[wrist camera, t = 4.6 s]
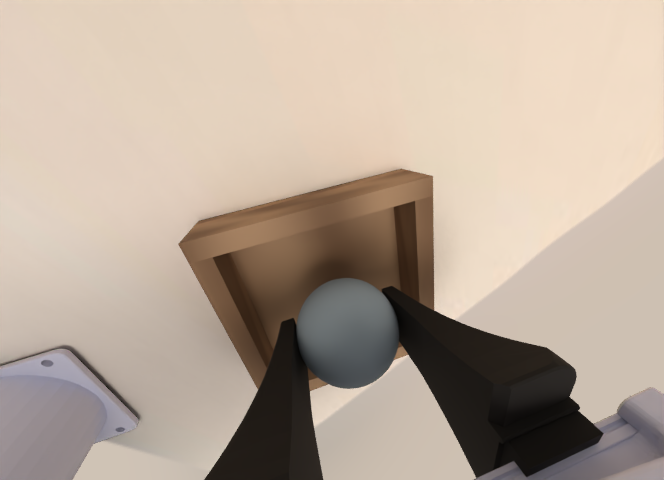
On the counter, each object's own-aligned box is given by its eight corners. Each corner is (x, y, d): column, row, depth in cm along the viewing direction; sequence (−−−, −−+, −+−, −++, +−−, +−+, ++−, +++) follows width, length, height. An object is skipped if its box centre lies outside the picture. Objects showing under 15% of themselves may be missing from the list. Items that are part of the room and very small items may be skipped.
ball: (305, 340, 15) (318, 430, 10) (281, 276, 13) (284, 353, 8) (380, 315, 15) (423, 390, 11) (369, 249, 13) (417, 308, 9)
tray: (267, 365, 18) (267, 406, 15) (198, 220, 13) (178, 244, 10) (411, 315, 19) (434, 344, 17) (401, 169, 14) (432, 176, 11)
